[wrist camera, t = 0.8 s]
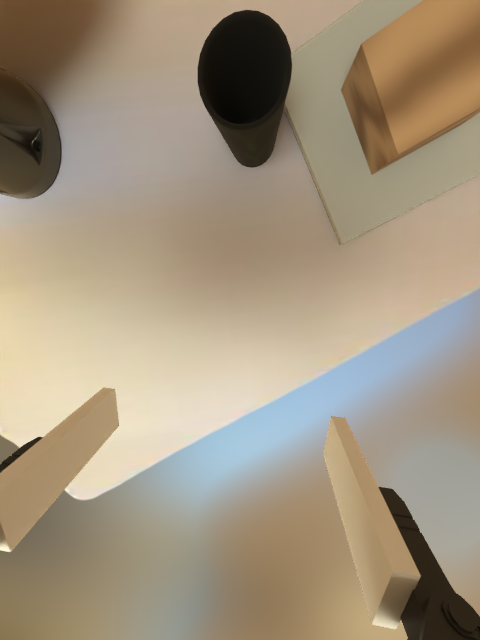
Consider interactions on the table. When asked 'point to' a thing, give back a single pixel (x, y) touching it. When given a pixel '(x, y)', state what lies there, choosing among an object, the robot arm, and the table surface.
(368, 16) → the board
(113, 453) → the table surface
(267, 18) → the cup
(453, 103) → the block
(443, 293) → the table surface
